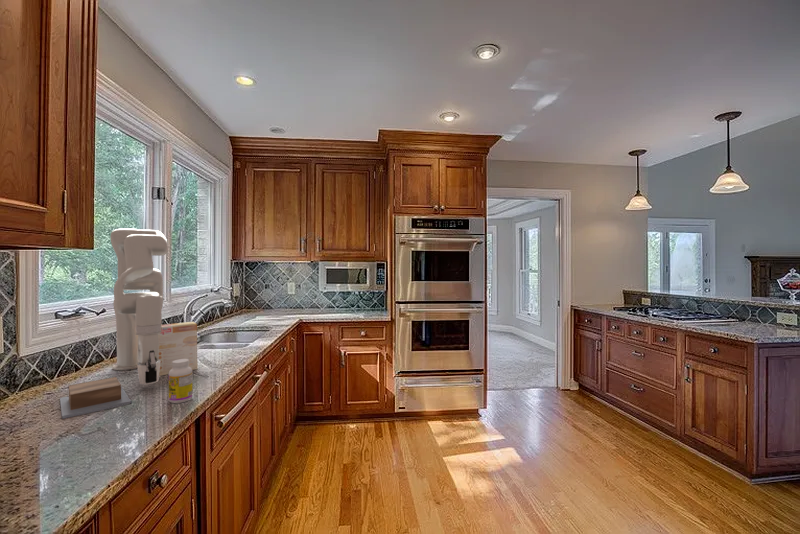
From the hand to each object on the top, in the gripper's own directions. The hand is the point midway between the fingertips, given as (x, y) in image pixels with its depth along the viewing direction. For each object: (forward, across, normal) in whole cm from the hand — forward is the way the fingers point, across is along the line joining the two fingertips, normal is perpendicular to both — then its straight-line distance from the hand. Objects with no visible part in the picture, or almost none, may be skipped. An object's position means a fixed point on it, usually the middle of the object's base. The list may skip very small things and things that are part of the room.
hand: (149, 379), depth 128 cm
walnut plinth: (+3, +3, -15) cm, 16 cm away
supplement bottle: (+3, +21, +5) cm, 22 cm away
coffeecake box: (+4, -17, +12) cm, 21 cm away
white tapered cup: (+1, 0, 0) cm, 1 cm away
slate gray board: (+3, +3, -15) cm, 16 cm away
